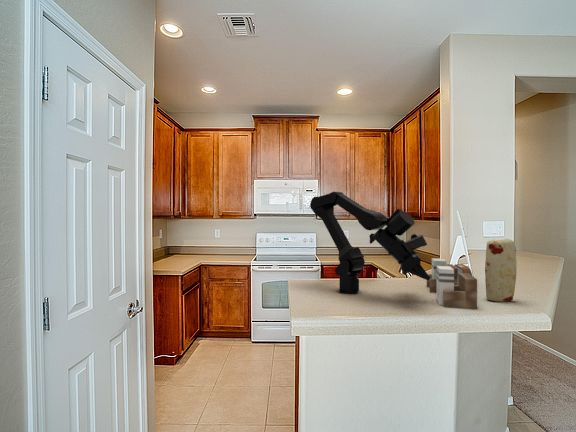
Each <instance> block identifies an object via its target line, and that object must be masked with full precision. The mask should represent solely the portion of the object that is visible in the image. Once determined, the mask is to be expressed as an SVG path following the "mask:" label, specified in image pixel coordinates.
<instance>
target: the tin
mask: <svg viewBox="0 0 576 432" xmlns="http://www.w3.org/2000/svg"><path fill="white" fill-rule="evenodd" d="M453 266H455V267H456V268H457V269H458V273H469V274H470V275H472V276H473V272H472V270H471V268H470V267H469V266H467V265H465V264H463V263H457V264H454V265H453Z"/></svg>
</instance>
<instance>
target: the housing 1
mask: <svg viewBox="0 0 576 432" xmlns="http://www.w3.org/2000/svg"><path fill="white" fill-rule="evenodd" d="M446 266H450V267H451V268H453V269H454V285H458V269H457V268H456V267H455V266H454V265H453V264H451V263H450V264H448V263H446ZM427 274H428V275H429V277H430V279H429V280H426V288H429V293H430V294H437V279H432V273H427Z"/></svg>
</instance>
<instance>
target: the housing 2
mask: <svg viewBox="0 0 576 432" xmlns="http://www.w3.org/2000/svg"><path fill="white" fill-rule="evenodd" d="M442 306H443V307H444V308H451V309H465V310H467V309H468V310H478V278H476V277H474V276H473V274H472V275H470V274H469V273H458V285H454V291H449V290H443V305H442Z"/></svg>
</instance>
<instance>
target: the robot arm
mask: <svg viewBox="0 0 576 432" xmlns="http://www.w3.org/2000/svg"><path fill="white" fill-rule="evenodd" d="M309 206H310V207H309V208H310V209H311V210H312V212H313V213H314V215H315V216H317V217H318V218H319V219H321V220H322V222H323V225H324V226H325V228H326V230H327V232H328V233H329V235H330V238H331V239H332V242H333V244H334V245H335V247H336V249H337V250H338V251H337V252H338V261H339V264H338V265H337V266H336V267H335V268H334V271H335V275H336V276H339V289H338V290H339V291H338V293H340V294H358V292H359V291H360V278H359V277H358V275H360V274H361V273H362V270H363V268H364V267H365V263H366V261H365V258H364V257H365V255H364V254H363V253H362V252H361V249H360V247H358V246H356V247H354V246H352V245H351V243H350V241H349V240H348V238H347V236H346V234H345V232H344V230H343V229H342V227H341V225H340V223H339V221H338V219H337V218H336V216H335V214H334V213H335V206H339V207H340V208H342V209H343V210H345V211H346V212H347V213H349V214H350V215H352V216H353V217H355V218H356V220H357V222H358V223H359V224H360V226H362V228H363V229H364V230H366V231H376V232H375V233H370V234H369V236H368V237H369V244H373V243H374V242H375V241H376V242H377V243H378V244H379V245H380V247H382V248H383V249H384V250H385V251H386V252H387V254H388V255H389V256H391V257H392V258H393V259H394V260H395V261H397V264H399V265H400V270H401V271H403V273H404V274H412V275H414V276H417V277H418V278H421V279H423V280H426V281H427V280H429V279H430V277H429V275H428V274H429V273H427V271H426V270H425V268H424V267H423V266H422V265H421V264H422V262H421V261H422V258H421V257H420V255H418V253H417V251H415V250H417V249H419V248H422V247H425V246H427V245H428V243H427V241H426V238H425V237H424V235H423V234H419V235H417V234H416V233H413V234H411V235H410V239H408V240H406V241H404V239H400V237H399V236H403V235H404V234H405V233H406V232H407V231H408V230H410V229H411V228H412V227H413V226H414V225H415V220H414V218H413V217H412V216H411V215H410V214H408V213H407V212H406V211H403V209H402V208H396V210H394V212H392V214H391V215H390V216H389V217H386V216H385V215H384V214H383V213H381V212H379V211H376V210H374V209H369V208H367V207H364V206H363V205H361V204H360V203H358V202H357V201H355V200H354V199H352V198H351V197H349V196H347V195H346V194H344V192H341V191H332V192H330V193H327V194H326V193H325V194H324V195H319V196H313V197H312V198H311V200H310V204H309Z"/></svg>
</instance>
